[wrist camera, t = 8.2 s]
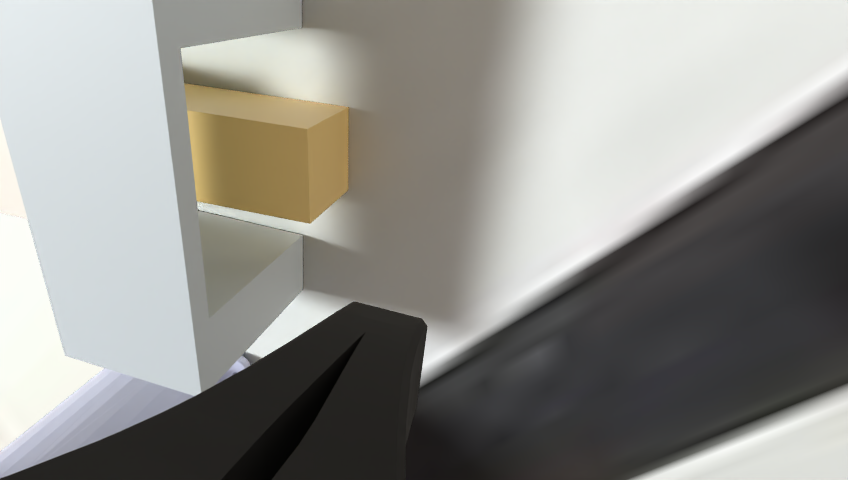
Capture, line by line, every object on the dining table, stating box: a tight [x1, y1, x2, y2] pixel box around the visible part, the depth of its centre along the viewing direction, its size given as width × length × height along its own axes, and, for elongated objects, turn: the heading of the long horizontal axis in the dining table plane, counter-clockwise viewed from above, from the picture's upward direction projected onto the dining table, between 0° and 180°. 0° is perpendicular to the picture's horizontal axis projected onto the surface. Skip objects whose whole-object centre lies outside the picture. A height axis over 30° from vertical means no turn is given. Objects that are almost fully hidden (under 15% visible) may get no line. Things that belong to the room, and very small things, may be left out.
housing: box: [0, 0, 303, 396], centre depth 16 cm, size 12×5×6 cm, turn 174°
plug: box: [0, 83, 349, 224], centre depth 17 cm, size 4×12×5 cm, turn 86°
